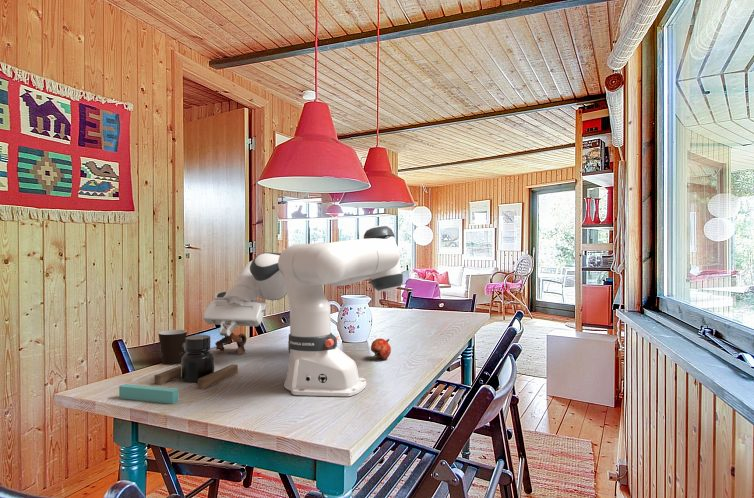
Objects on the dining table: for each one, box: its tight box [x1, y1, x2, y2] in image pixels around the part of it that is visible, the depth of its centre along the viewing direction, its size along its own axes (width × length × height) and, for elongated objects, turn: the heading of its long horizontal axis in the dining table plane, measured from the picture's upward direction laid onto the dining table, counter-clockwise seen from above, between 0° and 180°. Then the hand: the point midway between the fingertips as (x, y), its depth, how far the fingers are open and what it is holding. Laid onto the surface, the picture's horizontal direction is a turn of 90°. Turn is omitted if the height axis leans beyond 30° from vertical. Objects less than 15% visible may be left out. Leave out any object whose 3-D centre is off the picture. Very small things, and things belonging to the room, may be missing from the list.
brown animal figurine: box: [214, 332, 247, 356], centre depth 164 cm, size 12×10×8 cm
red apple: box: [369, 338, 392, 361], centre depth 153 cm, size 7×7×10 cm
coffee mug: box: [158, 329, 188, 366], centre depth 151 cm, size 12×9×10 cm
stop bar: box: [118, 383, 179, 405], centre depth 112 cm, size 16×2×3 cm, turn 74°
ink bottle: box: [180, 334, 215, 383], centre depth 131 cm, size 10×9×12 cm
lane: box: [154, 364, 239, 390], centre depth 131 cm, size 16×16×2 cm
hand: (224, 334), depth 143 cm, fingers closed
